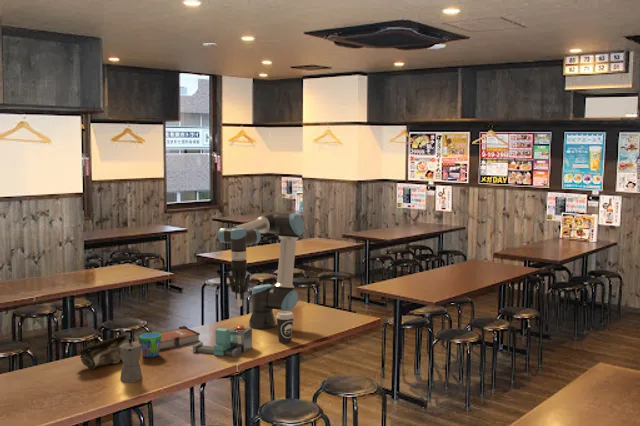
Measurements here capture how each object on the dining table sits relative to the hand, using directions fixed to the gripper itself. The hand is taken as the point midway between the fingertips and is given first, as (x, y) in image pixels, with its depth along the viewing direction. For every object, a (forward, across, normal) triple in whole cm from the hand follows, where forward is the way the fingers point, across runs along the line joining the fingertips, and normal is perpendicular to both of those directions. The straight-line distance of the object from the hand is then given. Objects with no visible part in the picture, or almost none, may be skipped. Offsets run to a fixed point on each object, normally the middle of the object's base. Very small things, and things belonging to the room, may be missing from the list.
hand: (239, 305), depth 325 cm
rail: (+22, -8, -11) cm, 25 cm away
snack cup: (+22, -36, -25) cm, 49 cm away
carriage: (+22, -5, -11) cm, 25 cm away
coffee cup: (+22, +17, +18) cm, 33 cm away
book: (+22, -39, -3) cm, 45 cm away
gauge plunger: (+17, +1, -2) cm, 17 cm away
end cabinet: (+22, 0, -2) cm, 22 cm away
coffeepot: (+21, -26, -55) cm, 64 cm away
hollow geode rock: (+21, -49, -42) cm, 68 cm away
